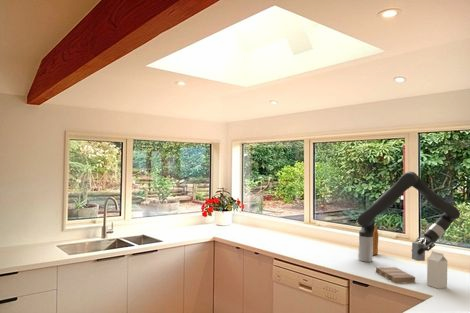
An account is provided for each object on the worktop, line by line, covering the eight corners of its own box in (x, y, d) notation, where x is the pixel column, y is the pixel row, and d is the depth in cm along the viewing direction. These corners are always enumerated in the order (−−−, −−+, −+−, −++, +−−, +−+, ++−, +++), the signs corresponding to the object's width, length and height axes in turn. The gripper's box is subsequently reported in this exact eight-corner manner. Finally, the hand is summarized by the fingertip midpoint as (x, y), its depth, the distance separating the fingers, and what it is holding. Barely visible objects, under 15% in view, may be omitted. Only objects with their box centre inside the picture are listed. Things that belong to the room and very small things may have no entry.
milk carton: (438, 289, 195) (439, 254, 195) (426, 284, 201) (427, 251, 202) (447, 287, 198) (447, 253, 198) (435, 283, 204) (436, 250, 204)
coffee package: (365, 250, 279) (365, 223, 280) (379, 254, 270) (380, 225, 270) (358, 252, 273) (358, 224, 274) (373, 256, 264) (373, 226, 264)
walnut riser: (375, 272, 223) (375, 267, 223) (394, 271, 225) (395, 267, 225) (394, 282, 203) (394, 277, 203) (415, 282, 205) (415, 277, 205)
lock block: (411, 258, 217) (412, 241, 217) (419, 258, 217) (419, 241, 217) (417, 260, 212) (417, 243, 212) (424, 260, 212) (425, 243, 213)
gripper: (422, 226, 223) (404, 245, 221) (438, 231, 209) (419, 251, 207) (429, 234, 224) (411, 254, 222) (446, 240, 209) (427, 260, 208)
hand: (415, 252), depth 214 cm, fingers closed on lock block, 5 cm apart
